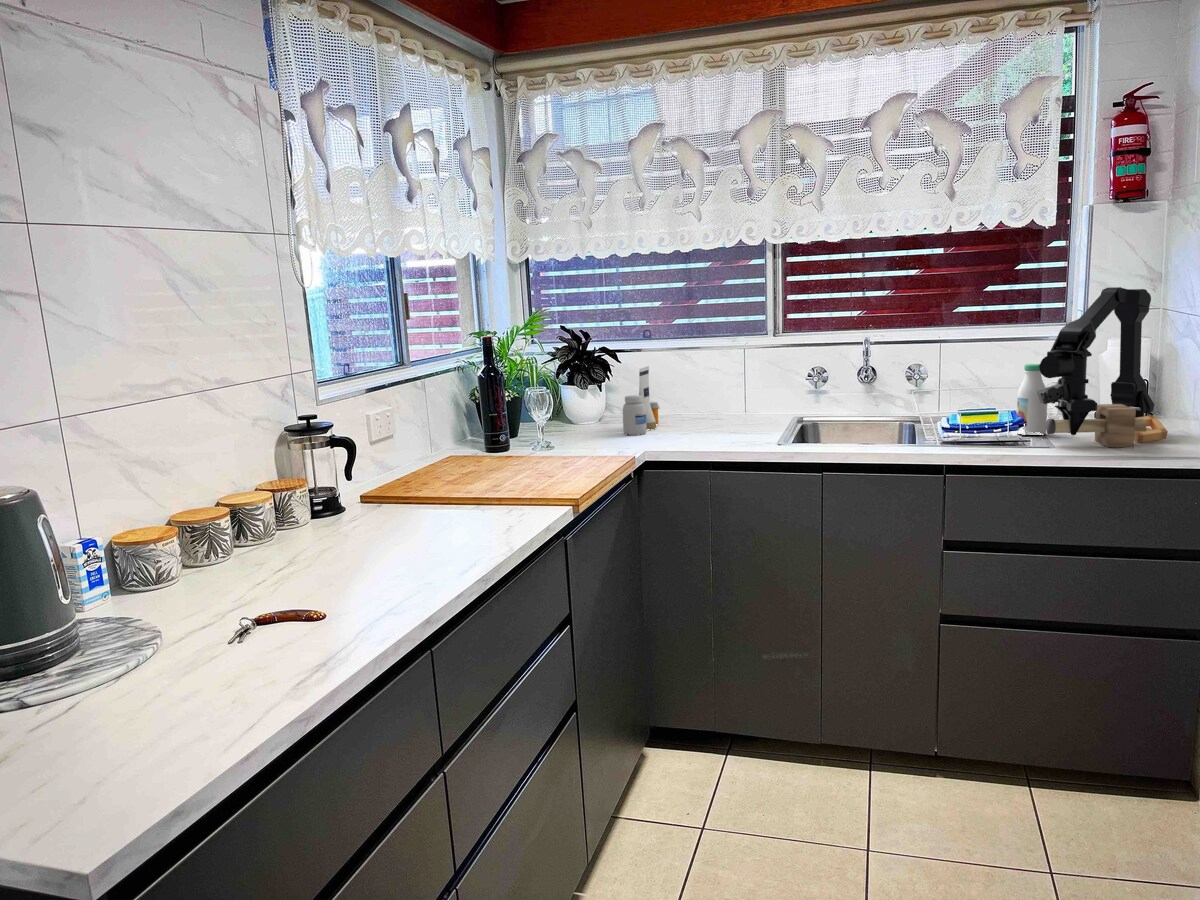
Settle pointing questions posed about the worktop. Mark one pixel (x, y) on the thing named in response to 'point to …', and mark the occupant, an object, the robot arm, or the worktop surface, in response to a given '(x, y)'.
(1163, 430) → the frame
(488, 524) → the worktop surface
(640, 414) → the toiletry set
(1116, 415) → the bearing block
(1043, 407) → the milk bottle
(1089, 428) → the shaft
